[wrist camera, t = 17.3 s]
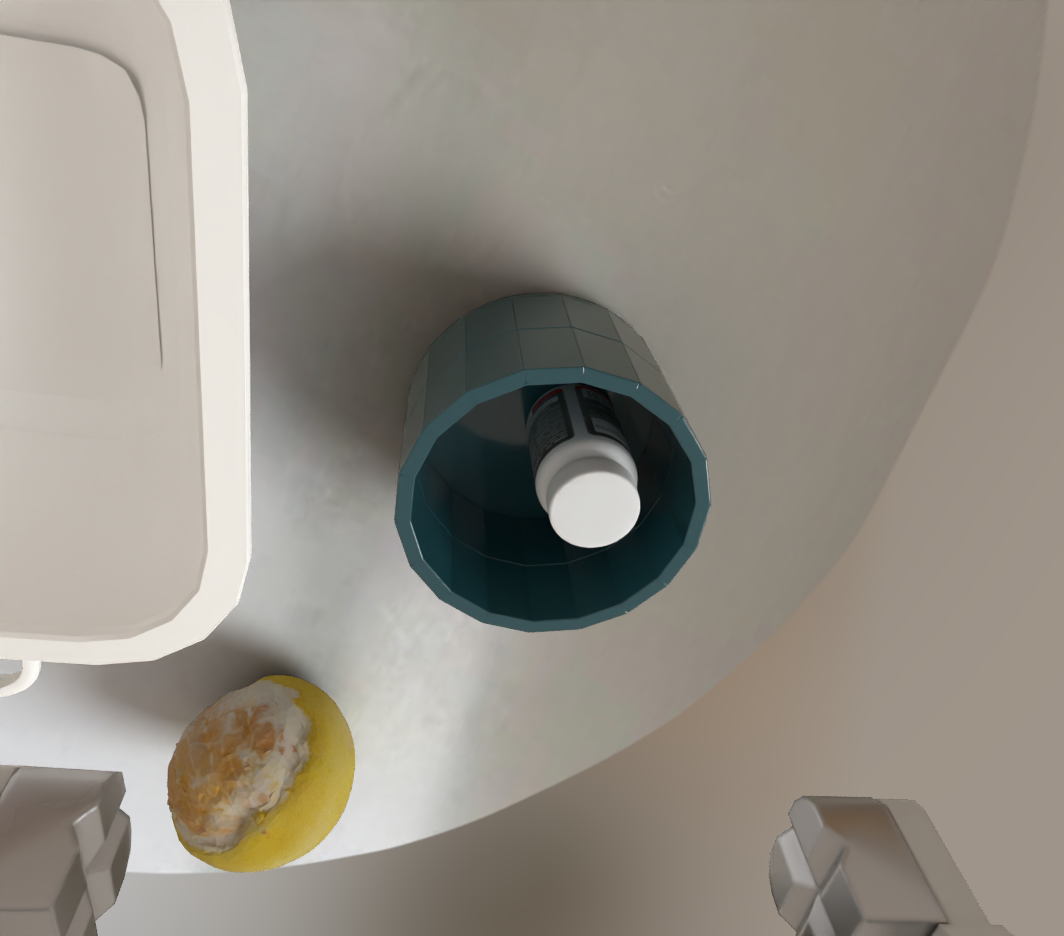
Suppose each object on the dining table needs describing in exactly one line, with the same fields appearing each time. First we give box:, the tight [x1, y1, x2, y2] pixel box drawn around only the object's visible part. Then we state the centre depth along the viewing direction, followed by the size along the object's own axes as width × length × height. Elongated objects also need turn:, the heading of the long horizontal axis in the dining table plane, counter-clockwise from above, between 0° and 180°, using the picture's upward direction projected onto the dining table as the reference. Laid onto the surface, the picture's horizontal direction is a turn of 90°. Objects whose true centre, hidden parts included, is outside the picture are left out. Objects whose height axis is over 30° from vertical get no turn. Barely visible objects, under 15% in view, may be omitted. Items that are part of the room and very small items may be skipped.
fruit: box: [167, 675, 355, 872], centre depth 47 cm, size 10×11×10 cm
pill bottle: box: [526, 384, 640, 548], centre depth 38 cm, size 5×5×8 cm
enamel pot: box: [394, 293, 711, 632], centre depth 38 cm, size 13×14×9 cm
